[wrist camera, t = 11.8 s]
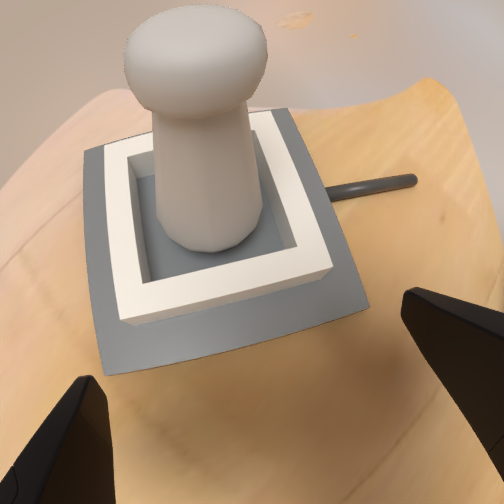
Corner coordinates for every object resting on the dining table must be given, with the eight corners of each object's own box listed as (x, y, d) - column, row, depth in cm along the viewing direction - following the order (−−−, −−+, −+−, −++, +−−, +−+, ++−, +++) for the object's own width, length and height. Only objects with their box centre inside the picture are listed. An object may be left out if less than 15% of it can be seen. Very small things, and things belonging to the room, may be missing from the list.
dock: (371, 110, 25) (384, 83, 22) (453, 274, 20) (482, 259, 17) (88, 158, 21) (72, 130, 18) (110, 375, 16) (86, 377, 13)
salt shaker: (212, 164, 20) (206, -22, 8) (277, 218, 19) (338, 28, 7) (145, 221, 19) (62, 42, 6) (209, 286, 17) (171, 116, 5)
